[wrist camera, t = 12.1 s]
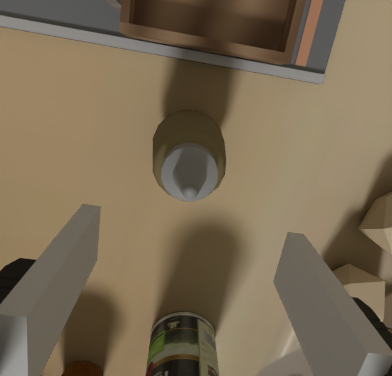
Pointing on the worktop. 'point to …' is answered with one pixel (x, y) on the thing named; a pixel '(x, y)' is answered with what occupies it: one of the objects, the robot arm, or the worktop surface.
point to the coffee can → (182, 347)
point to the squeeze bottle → (188, 155)
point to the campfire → (387, 239)
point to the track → (110, 36)
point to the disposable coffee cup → (82, 369)
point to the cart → (217, 25)
